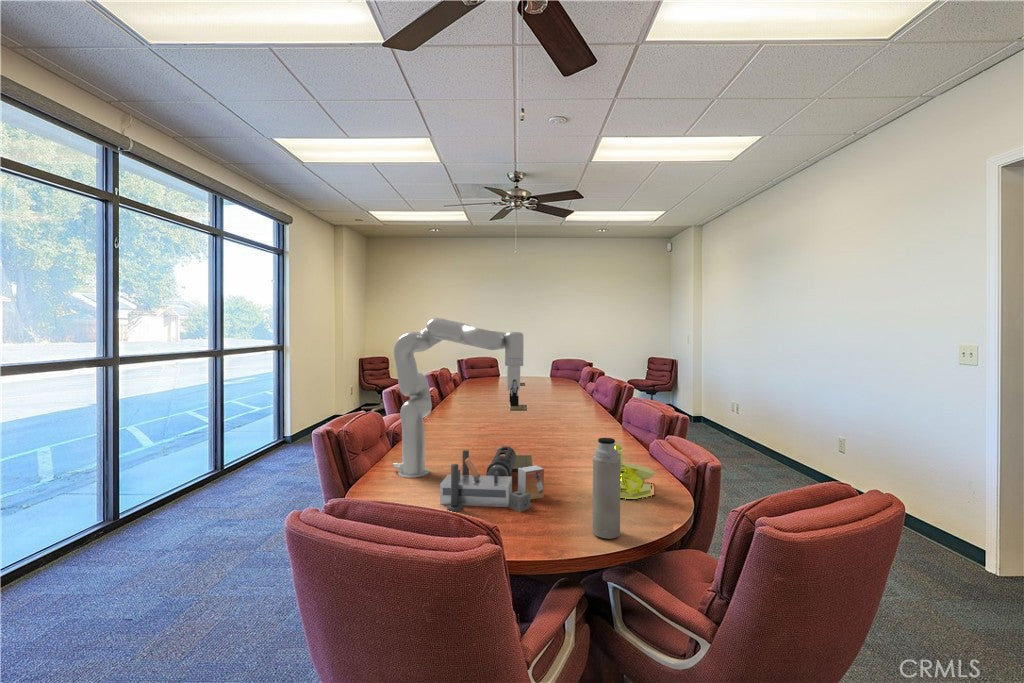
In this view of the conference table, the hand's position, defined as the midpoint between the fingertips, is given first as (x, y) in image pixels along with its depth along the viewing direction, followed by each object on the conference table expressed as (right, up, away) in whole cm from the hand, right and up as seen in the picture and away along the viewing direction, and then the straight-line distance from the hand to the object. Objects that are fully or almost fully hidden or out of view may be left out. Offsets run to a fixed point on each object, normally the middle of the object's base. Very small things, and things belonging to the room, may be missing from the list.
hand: (513, 404), depth 179 cm
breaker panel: (-13, -31, -22) cm, 40 cm away
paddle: (-13, -23, -22) cm, 35 cm away
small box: (+6, -31, -19) cm, 37 cm away
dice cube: (+2, -31, -30) cm, 43 cm away
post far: (-18, -31, -13) cm, 38 cm away
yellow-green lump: (+45, -31, -10) cm, 55 cm away
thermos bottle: (+27, -32, -48) cm, 64 cm away
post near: (-20, -31, -30) cm, 48 cm away
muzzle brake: (-5, -31, +1) cm, 32 cm away
